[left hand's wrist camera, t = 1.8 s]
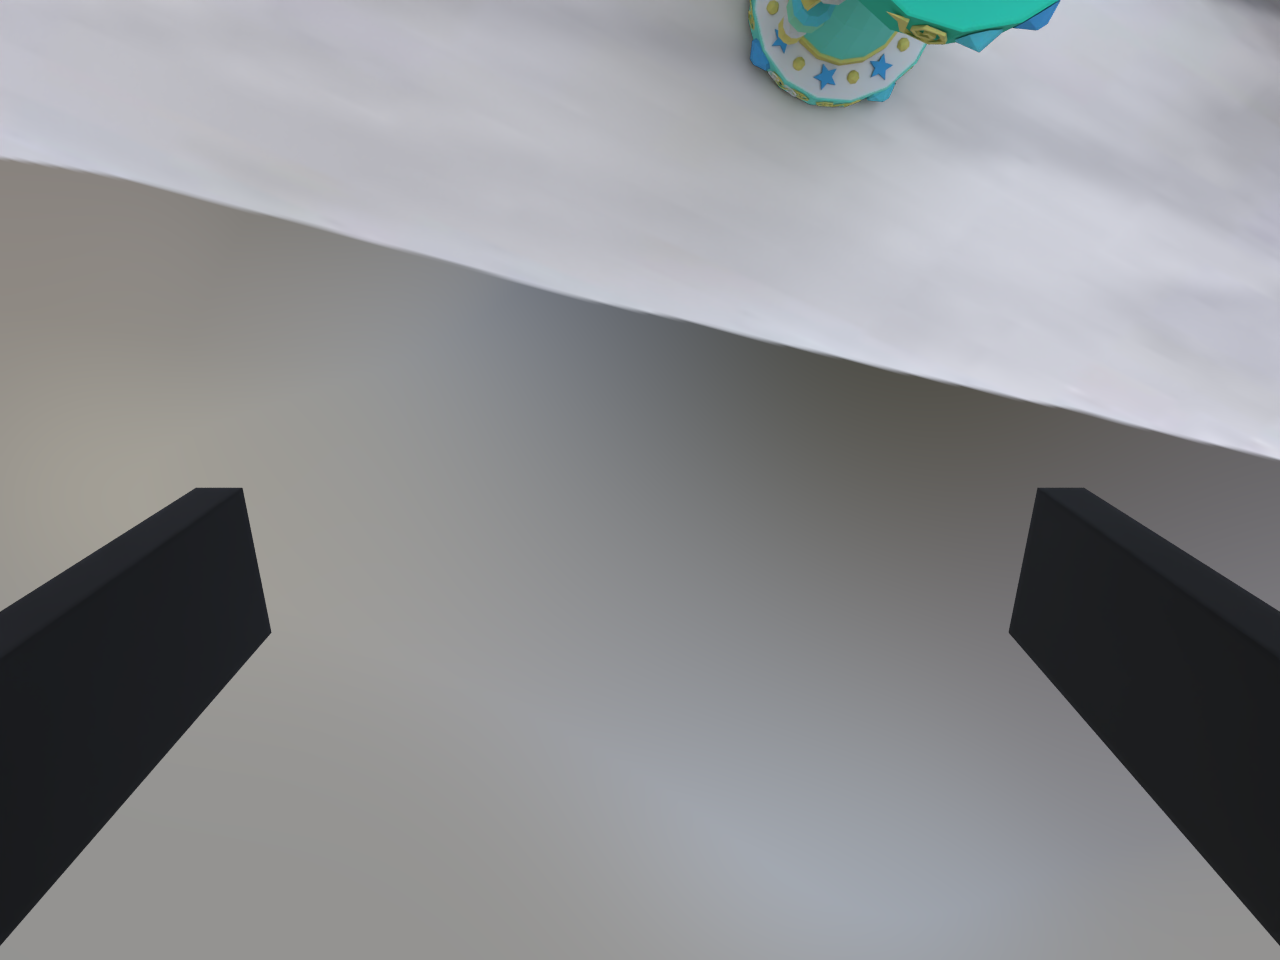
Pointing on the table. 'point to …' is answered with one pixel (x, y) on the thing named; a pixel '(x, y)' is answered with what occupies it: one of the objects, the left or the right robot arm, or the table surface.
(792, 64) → the decorative hourglass
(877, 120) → the table surface
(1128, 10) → the table surface
